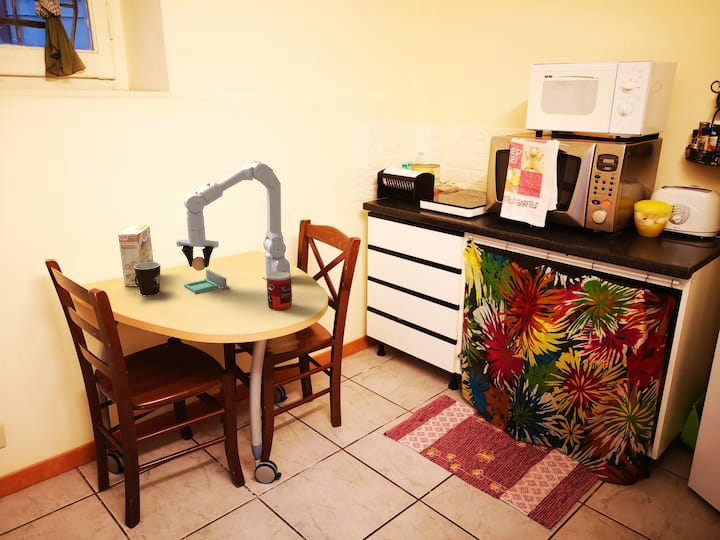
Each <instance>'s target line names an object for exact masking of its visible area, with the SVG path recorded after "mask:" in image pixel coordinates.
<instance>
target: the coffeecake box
mask: <svg viewBox="0 0 720 540" xmlns="http://www.w3.org/2000/svg"><path fill="white" fill-rule="evenodd" d="M150 227H151V226H150V224H140V225H139V224H134V225H130V226H129V227H127V228H125V229H124V230H123V231H121V232H120V233H118V235H117V236H118V243H119V251H120V259H121V267H122V274H123V283H124V284H123V285H136V284H135V276H136V274H135V270H134V266H135V265H137V264H139V263H144V262H154V255H153V246H152V237H151V228H150ZM137 283H138V282H137Z"/></svg>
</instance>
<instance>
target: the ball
mask: <svg viewBox="0 0 720 540" xmlns="http://www.w3.org/2000/svg"><path fill="white" fill-rule="evenodd" d="M192 269H194V270H195V271H198V272H199V271H204V270H206V267H205V264H204V256H203V257H202V256H196V257H193V261H192Z"/></svg>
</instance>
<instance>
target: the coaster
mask: <svg viewBox="0 0 720 540" xmlns="http://www.w3.org/2000/svg"><path fill="white" fill-rule="evenodd" d="M205 279H206V278H205ZM183 287H184V288H185V289H186V290H189V291H190V292H192V293H193V294H199V293H204V292H209V291H212V290H216V289H220V287H219V286H218V285H217V284H215V283H213V282H211V281H209V280H208V279H206V280H204V279H201V280H198V281H192V282H188V283H185V284H183Z"/></svg>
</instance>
